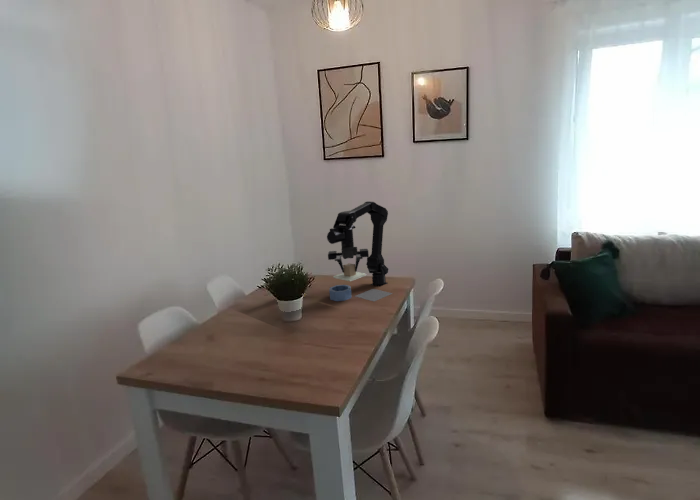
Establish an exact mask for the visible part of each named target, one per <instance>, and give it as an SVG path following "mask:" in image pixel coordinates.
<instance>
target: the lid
mask: <svg viewBox="0 0 700 500" xmlns="http://www.w3.org/2000/svg"><path fill="white" fill-rule="evenodd" d="M355 265H356V263H350V262H349V263H346V264H343V269H344V273H343V272H342V273H340V274H339V273H338V274H336V275H333V279H337V280H342V281H346V282H353V281H355V280H358V279H360V278H363V277H367V275H368V274H367V273H364V272H359V271H356V270H355Z"/></svg>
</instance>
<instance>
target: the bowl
mask: <svg viewBox="0 0 700 500" xmlns="http://www.w3.org/2000/svg"><path fill="white" fill-rule="evenodd" d="M351 287H352V286H351V285H347V284H336V285H334V286H330V287H329V289H328V290H329V299H330V301H334V302H345V301H348V300H351V299H352V288H351Z"/></svg>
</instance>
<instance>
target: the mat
mask: <svg viewBox="0 0 700 500" xmlns="http://www.w3.org/2000/svg"><path fill="white" fill-rule="evenodd" d="M390 295H393V292H388V291H385V290H384V291H383V290H381V289H376V288H371V289H368V290H366V291H364V292H361V293H359V294H356V295H354V297H355V298H359V299H363V300H366V301H371V302H377V301H379V300H381V299H383V298H386V297H388V296H390Z"/></svg>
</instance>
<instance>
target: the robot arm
mask: <svg viewBox="0 0 700 500" xmlns="http://www.w3.org/2000/svg"><path fill="white" fill-rule="evenodd" d="M365 214H368V215H370V220H371V223H372V225H373V228H372V239H371V240H372V243H371V254H370V255H369V250H368V248H360V249H359V251H358V247H357V246H355V244H354V231H353V229H356V226H355V225H354V224H355V223H356V221H357V219H358V218H360V217H362V216H363V215H365ZM388 215H389V212H388V210H387V208H386V207H384V206H382V205H379V204H377V203H376V202H375V201H364V203H362V204H360V205H358V206H357V207H356V206H355V207H354V208H352V209H351V210H345V211H341V212H339V213H338V214H337V217H336V219H335V221H334V224H333V228H332V227H331V228H329V231H328V232H327V235H326V240H327V241H328V243H330V244H331V245H334V244H338V243H341V249H340V250H341V252H337V250H332V251H331V250H330V251H328V253H327V259H328V260H329V261H331V260H334V261H335V262H337V263H338V265H339V268H340V269H341V272H342V273H344V269H343V265H344V264H343V261H342V260H343V259H344V260H346V259H354V257H355V270H356V272H358V267H359V263H360V261H361V260H363V258H366V263H365V265H366V268H367V270H368V272H369V274H372V275H371V278H372V283H370V285H371V286H375V287H382V286H385V285H388V284H389V283H388V282H386V275H387V274H389V268H388V267H387V265H385V259H384V257H383V255H382V251H383V250H382V249H383V237H384V235H383V234H384V226H385V224H386V223H387V221H388ZM342 258H343V259H342Z"/></svg>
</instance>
